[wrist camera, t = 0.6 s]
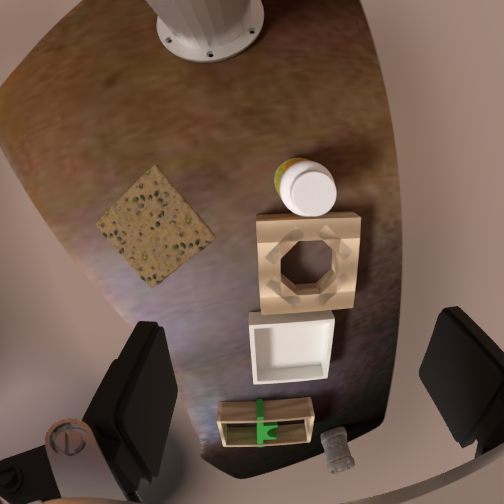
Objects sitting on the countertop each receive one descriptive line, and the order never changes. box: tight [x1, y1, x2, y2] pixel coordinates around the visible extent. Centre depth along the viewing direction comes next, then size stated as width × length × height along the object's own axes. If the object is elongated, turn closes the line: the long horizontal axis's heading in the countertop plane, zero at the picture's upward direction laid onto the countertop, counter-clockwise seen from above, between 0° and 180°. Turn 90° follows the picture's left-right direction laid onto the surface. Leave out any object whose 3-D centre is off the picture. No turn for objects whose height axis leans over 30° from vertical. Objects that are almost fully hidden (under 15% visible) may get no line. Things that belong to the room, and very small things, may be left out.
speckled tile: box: [96, 165, 216, 288], centre depth 35 cm, size 12×12×1 cm
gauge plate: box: [256, 211, 361, 315], centre depth 36 cm, size 12×12×3 cm
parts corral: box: [217, 397, 315, 447], centre depth 46 cm, size 9×16×4 cm, turn 93°
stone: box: [321, 427, 355, 474], centre depth 47 cm, size 3×6×10 cm, turn 113°
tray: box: [249, 310, 335, 384], centre depth 40 cm, size 11×11×3 cm
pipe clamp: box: [257, 399, 278, 447], centre depth 46 cm, size 10×4×4 cm, turn 1°
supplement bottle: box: [274, 158, 337, 216], centre depth 29 cm, size 5×5×10 cm
